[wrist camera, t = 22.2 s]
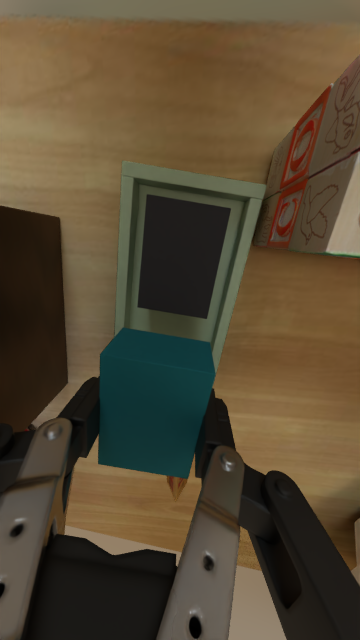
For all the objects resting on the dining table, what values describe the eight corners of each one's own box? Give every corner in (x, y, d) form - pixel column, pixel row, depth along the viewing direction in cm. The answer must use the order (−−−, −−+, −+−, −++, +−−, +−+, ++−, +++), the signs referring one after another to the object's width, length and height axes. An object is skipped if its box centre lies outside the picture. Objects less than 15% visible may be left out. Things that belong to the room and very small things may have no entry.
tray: (131, 171, 14) (121, 160, 12) (256, 192, 14) (267, 184, 12) (119, 374, 21) (111, 387, 19) (206, 389, 21) (208, 404, 19)
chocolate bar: (191, 410, 22) (191, 428, 20) (186, 482, 26) (186, 503, 24) (167, 408, 22) (164, 426, 20) (167, 480, 26) (164, 501, 24)
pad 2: (122, 326, 11) (99, 354, 8) (210, 341, 11) (216, 373, 8) (117, 419, 14) (97, 464, 11) (188, 431, 14) (188, 479, 11)
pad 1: (155, 203, 14) (146, 193, 12) (224, 215, 14) (231, 207, 12) (146, 297, 17) (137, 307, 14) (204, 306, 17) (206, 319, 14)
